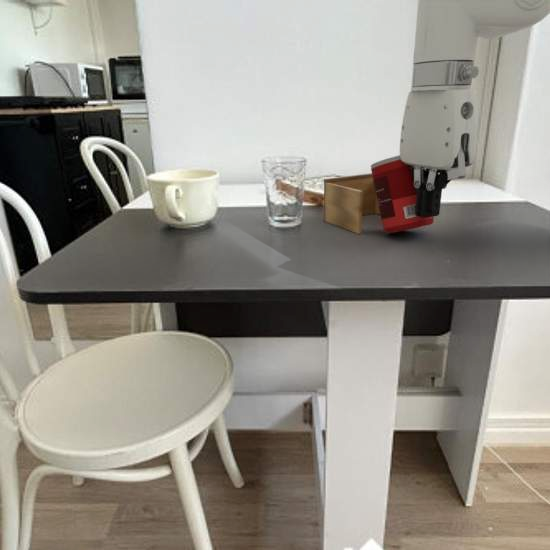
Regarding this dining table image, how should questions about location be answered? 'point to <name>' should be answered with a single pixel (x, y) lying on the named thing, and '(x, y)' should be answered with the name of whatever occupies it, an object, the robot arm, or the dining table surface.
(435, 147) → the robot arm
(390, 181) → the canned food
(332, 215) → the brown u-shaped panel piece
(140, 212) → the dining table surface
